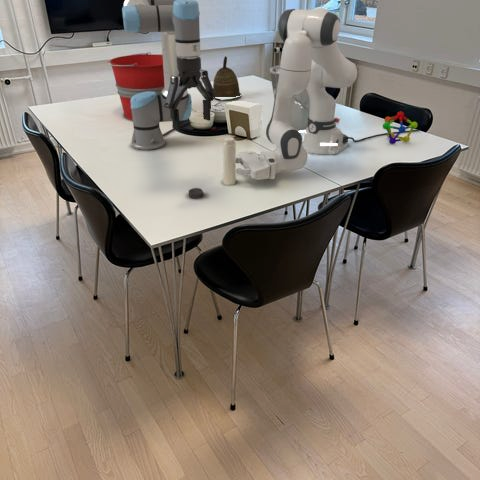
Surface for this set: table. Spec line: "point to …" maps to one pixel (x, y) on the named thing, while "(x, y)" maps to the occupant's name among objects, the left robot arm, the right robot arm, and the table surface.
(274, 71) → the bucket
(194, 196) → the lid
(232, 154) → the jar
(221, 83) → the bell
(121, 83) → the bucket
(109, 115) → the table surface
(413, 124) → the educational toy
